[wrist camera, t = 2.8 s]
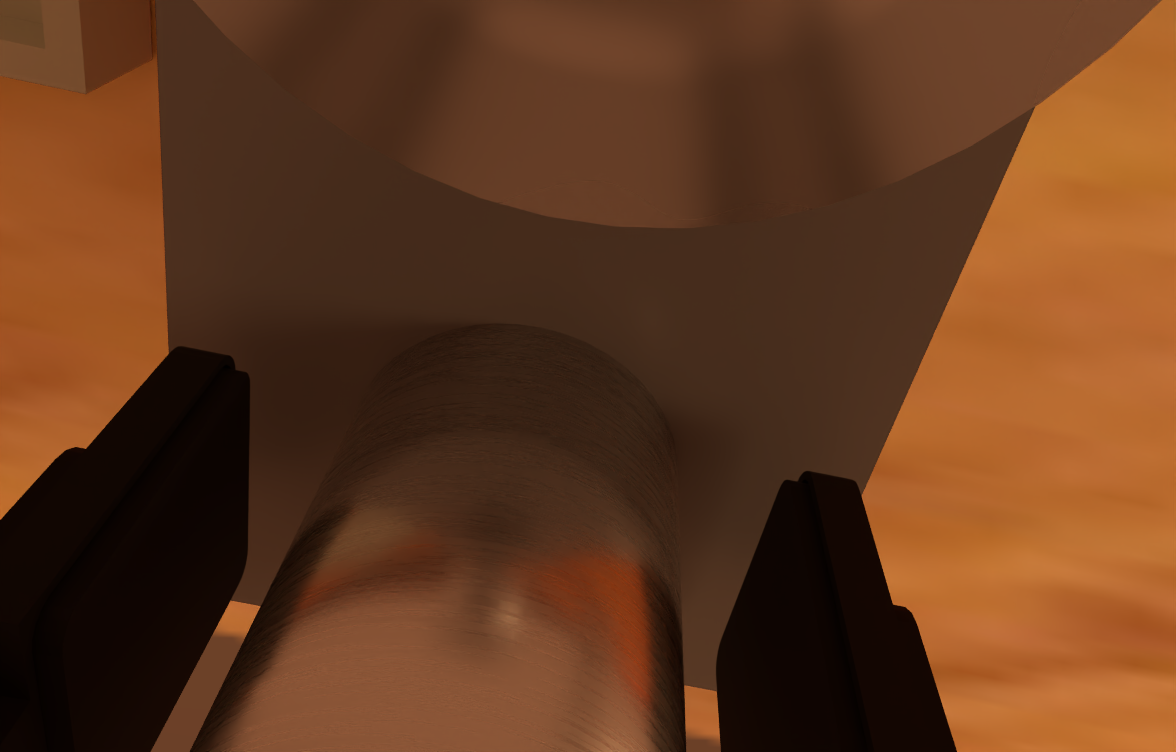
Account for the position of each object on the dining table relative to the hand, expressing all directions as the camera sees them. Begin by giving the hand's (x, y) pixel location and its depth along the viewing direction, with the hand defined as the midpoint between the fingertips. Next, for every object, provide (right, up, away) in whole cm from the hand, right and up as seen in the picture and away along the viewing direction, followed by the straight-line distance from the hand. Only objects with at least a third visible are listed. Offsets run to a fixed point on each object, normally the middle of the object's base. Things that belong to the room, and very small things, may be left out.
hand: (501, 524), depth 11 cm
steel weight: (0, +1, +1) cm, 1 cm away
